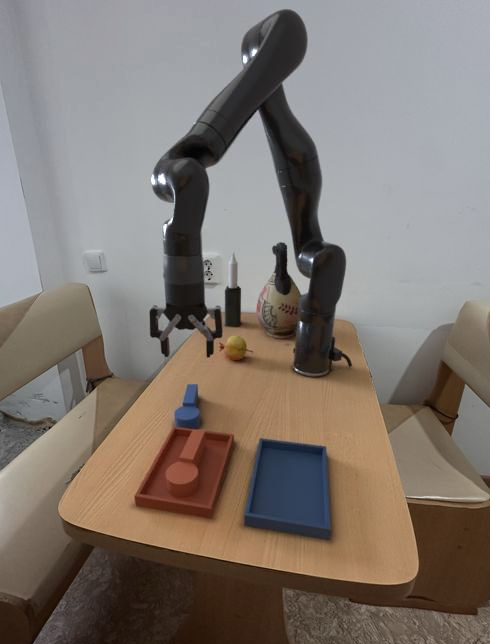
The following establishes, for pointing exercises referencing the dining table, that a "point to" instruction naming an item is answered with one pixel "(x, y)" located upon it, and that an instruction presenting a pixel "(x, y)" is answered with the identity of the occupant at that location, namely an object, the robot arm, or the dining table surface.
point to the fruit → (234, 348)
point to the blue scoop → (188, 409)
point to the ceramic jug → (279, 299)
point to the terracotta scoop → (187, 467)
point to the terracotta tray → (209, 475)
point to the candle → (233, 296)
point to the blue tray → (290, 489)
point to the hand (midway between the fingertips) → (187, 355)
